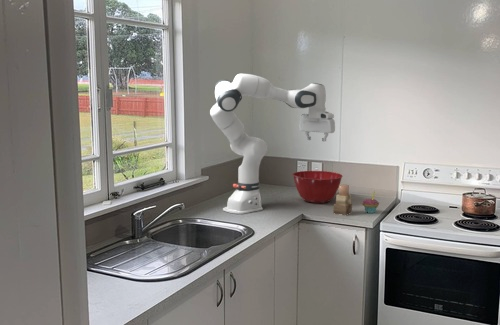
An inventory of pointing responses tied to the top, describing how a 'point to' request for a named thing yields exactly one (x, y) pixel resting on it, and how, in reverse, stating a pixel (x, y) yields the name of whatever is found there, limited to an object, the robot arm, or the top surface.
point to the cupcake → (370, 204)
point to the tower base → (342, 209)
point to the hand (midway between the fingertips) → (316, 140)
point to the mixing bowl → (317, 185)
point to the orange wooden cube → (344, 190)
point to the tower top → (343, 200)
